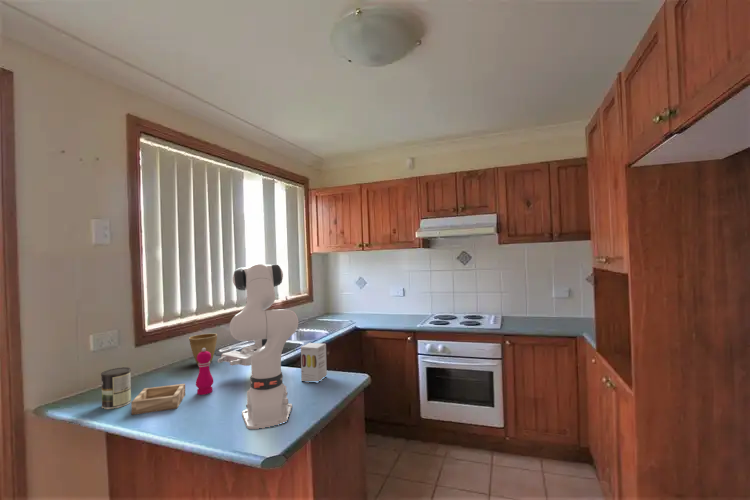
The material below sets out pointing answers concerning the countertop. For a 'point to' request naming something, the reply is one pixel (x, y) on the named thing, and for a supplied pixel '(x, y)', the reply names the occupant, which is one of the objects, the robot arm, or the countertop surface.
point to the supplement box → (313, 362)
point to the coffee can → (116, 388)
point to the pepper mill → (204, 373)
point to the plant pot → (203, 344)
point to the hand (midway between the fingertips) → (224, 362)
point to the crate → (158, 399)
